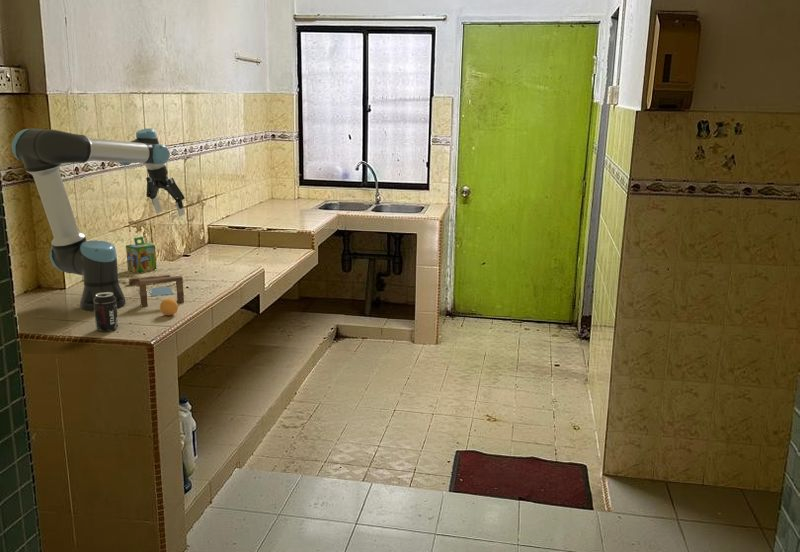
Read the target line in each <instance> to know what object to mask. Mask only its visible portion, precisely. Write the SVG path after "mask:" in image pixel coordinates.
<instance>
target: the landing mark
mask: <svg viewBox="0 0 800 552" xmlns="http://www.w3.org/2000/svg"><path fill="white" fill-rule="evenodd" d="M151 288H152V289H150V288H149V287H148V289H150V290H152V291H151V292H152V293H150V292H149V293H150V295H151V297H158V296H157V295H161V296H169V295H168V294H171V295H174V294H175V293H174V292H173V290H172V289H171V287H170V286H164V287H163V286H162V287H151ZM150 290H149V291H150ZM137 291H139V292H138V293H139V294H140V288H139V289H137Z"/></svg>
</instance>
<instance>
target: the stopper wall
mask: <svg viewBox="0 0 800 552" xmlns="http://www.w3.org/2000/svg"><path fill="white" fill-rule="evenodd" d="M160 277H171V275H170V274H164V275H163V274H161V275H150V276H141V277H140V276H139V277H130V278H128V282H129V283H128V284H129V286H138V285H137V284H139V279H150V278H160Z"/></svg>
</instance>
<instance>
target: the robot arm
mask: <svg viewBox="0 0 800 552" xmlns="http://www.w3.org/2000/svg"><path fill="white" fill-rule="evenodd" d="M135 135H136V137H135V139H133V140H131V141H123V140H113V139H112V140H110V139H100V138H99V139H98V138H88V136H86V135H85V134H77V133H72V132H66V131H62V130H58V129H52V128H51V129H48V128H47V129H42V128H34V127H32V128H26V129H22V130H20V131H18V132H17V133H16V134H15V136H14V137H13V139H12V141H11V151H12V154H13V155H14V156H15V159H17V160H18V161H19V162H22V163H23V166H24V168H25V171H26V172H27V173H28V174H30V175H31V176H32V177H33V180H34V183H35V186H36V189H37V191H38V195H39V197H40V201H41V204H42V206H43V209H44V213H45V215H46V217H47V218H46V219H47V221H48V224H49V227H50V229H51V232H52V236H53V239H52V240H51V247H50V251H49V259H50V260H49V261H50V262H51V264H52V265H53V267H54V268H55V269H57V270H58V271H61V272H63V273H66V274H74V275H80V276H82V277H83V279H82V280H83V290H82V295H81V297H80V309H81V310H83V311H89V312H94V298H95V294H97V293H102V292H112V293H113V295H114V296H115V297H116V304H117V309H119V308H122V307H124V306H125V305H126V297H125V294H124V293H123V290H122V288H121V286H120V283H119V271H118V270H119V268H118V259H117V258H118V257H117V256H118V253H117V251H116V246H115V245H114V244H112V243H111V242H110V241H106V240H87V238H86V235H85V233H83V232H81V231H79V227H78V224H77V221H76V218H75V215H74V212H73V209H72V205H71V203H70V199H69V197H68V193H67V191H66V187H65V184H64V181H63V178H62V175H61V172H60V169H61V166H62V165H63V164H75V163H76V164H79V163H80V164H84V163H87V162H88V161H94V162H95V161H97V162H115V163H118V164H119V165H121V166H123V167H124V166H125V167H126V166H130V165H132V163H133V164H134V163H135V164H145V168H146V169H147V174H148V176H147V177H146V178H145V179H146V194H145V195H146V198H150V200H151V202H152V205H153V207H154V209H155V212H156V215H157V214H160V213H161V212H163V209H162V206H161V205H162V204H161V203H160V200H159V196H158V192H159V191H160V190H159V189H163V190H164V191H166V192H167V193H168V194H169V195H170V196H171V197H172V199H173V200H174V201H175V202H174V203H175V207H176V210H177V213H178V214H177V215H178V217H180V218H181V217H182V216H183V217H184V215H185V214H186V213H185V208H184V204H183V200H185V198H186V197H185V196H184V194H183V192H182V191H181V189H180V188H179V186H178V184H176V181H175V179H174V177H170V178H168V169H167V166H166V163H167V162H168V161H169V158H170V150H169V148H168V147H167V146H166V145H164V144H160V142H159V138H158V136H157V133H156V130H155V129H154V128H150V127H149V128H142V129H139V130H138V131H136V132H135Z"/></svg>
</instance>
